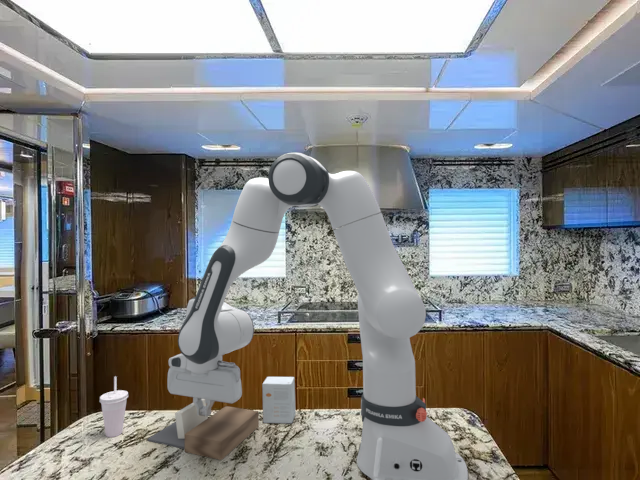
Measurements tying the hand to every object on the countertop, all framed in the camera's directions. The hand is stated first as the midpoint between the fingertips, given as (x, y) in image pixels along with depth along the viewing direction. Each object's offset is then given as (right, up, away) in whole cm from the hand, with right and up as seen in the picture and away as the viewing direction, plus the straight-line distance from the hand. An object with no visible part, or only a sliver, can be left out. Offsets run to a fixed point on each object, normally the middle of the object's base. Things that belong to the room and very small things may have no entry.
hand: (204, 415), depth 92 cm
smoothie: (-23, -5, +1) cm, 24 cm away
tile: (-3, -1, +1) cm, 3 cm away
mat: (-5, -5, +2) cm, 7 cm away
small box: (+18, -5, +8) cm, 20 cm away
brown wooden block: (+5, -5, -2) cm, 8 cm away
